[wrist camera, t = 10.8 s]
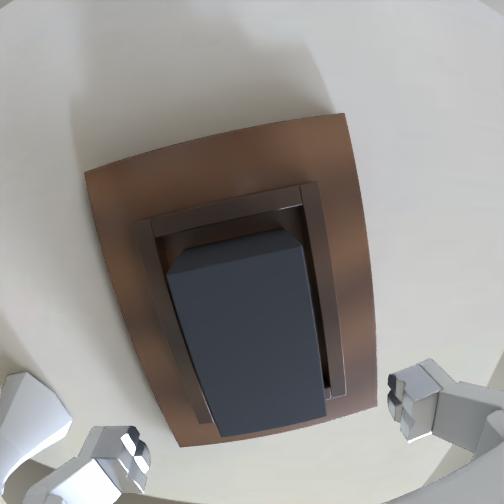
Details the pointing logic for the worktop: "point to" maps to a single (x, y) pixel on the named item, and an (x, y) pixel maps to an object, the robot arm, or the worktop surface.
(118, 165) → the back plate
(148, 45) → the worktop surface
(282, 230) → the dark gray block
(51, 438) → the flask
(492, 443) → the robot arm
